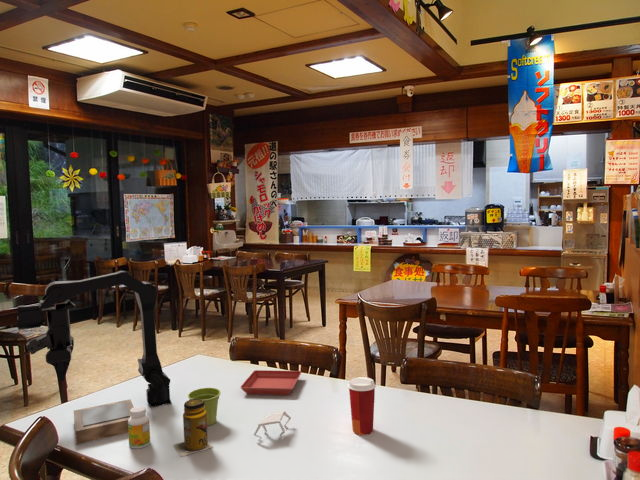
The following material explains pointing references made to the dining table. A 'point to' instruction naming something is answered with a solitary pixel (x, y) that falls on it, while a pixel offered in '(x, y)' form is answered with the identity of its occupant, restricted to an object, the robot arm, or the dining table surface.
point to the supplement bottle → (138, 427)
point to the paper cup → (362, 404)
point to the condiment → (194, 428)
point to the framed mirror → (102, 421)
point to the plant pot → (207, 401)
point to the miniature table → (273, 422)
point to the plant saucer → (271, 382)
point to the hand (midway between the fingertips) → (62, 376)
